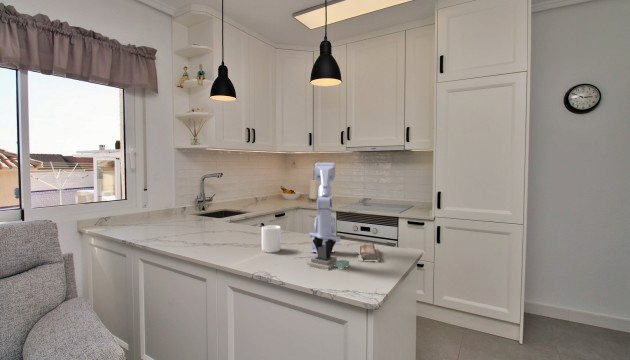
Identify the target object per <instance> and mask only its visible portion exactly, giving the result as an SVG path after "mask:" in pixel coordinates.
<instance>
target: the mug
mask: <svg viewBox="0 0 630 360" xmlns="http://www.w3.org/2000/svg"><path fill="white" fill-rule="evenodd" d="M281 231H282V228H281V225H276V224H273V225H272V224H271V225H270V224H269V225H263V226H262V227H261V251H262V252H263V253H266V252H267V253H269V254H270V253H271V254H274V253H278V252H280V251H281V247H282V245H281V244H282V242H281V239H282V236H281V235H282V233H281Z"/></svg>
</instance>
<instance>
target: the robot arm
mask: <svg viewBox="0 0 630 360" xmlns="http://www.w3.org/2000/svg"><path fill="white" fill-rule="evenodd" d="M314 167H315V169H314V173H315V180H316V181H318V182H319V183H320V185H319V186H318V190H317V191H318V192H317V195H318V197H317V198H316V210H317V216H316V217H315V218H314V232H312V231H311V232H308V238H310V239H311V250H310V252H311V253H313V251H314V252H317V253H316V254H318V247H319V246H321V245H326V249H327V257H330V256H332V253H331V252H332V250H334V249H333V248H334V246H335V244H336V243H339V242H341V236H339V235H336V234H335V232H336V231H335V230H336V227H335V225H336V223H335V217H334V216H333V215H332V210H333V196H332V186H331V185H330V184H331V183H332V181H333V182H334V180H335V177H336V163H335V162H316V163H315V166H314ZM334 234H335V235H334Z"/></svg>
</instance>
